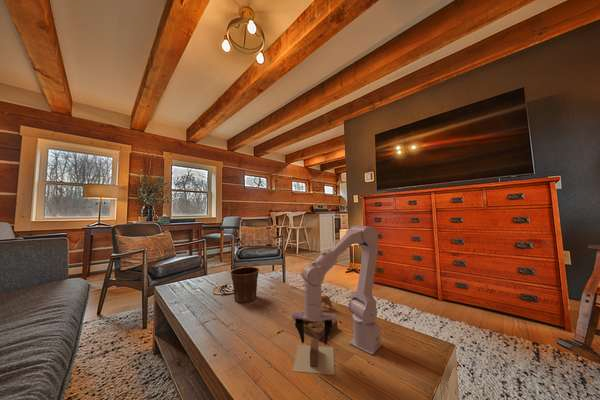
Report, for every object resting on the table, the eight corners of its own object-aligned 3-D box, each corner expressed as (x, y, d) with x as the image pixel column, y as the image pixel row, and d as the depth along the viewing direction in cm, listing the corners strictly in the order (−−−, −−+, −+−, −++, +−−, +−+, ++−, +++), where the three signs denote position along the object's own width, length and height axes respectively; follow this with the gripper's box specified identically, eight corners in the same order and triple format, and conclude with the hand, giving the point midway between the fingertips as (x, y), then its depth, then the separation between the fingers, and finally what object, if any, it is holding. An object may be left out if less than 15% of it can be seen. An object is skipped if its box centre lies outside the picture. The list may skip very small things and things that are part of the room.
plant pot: (224, 303, 117) (224, 273, 118) (240, 292, 133) (240, 266, 134) (250, 306, 113) (250, 275, 114) (264, 294, 128) (263, 267, 129)
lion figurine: (308, 314, 103) (308, 295, 103) (304, 309, 108) (304, 291, 108) (335, 309, 108) (334, 291, 108) (330, 304, 113) (329, 287, 113)
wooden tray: (337, 328, 90) (337, 321, 90) (319, 341, 82) (319, 333, 82) (315, 318, 99) (315, 312, 99) (297, 329, 90) (297, 322, 90)
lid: (333, 349, 78) (332, 335, 78) (334, 377, 65) (334, 360, 65) (298, 347, 79) (297, 333, 80) (292, 373, 66) (292, 357, 67)
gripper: (334, 297, 76) (335, 336, 75) (294, 296, 78) (294, 334, 77) (334, 306, 69) (336, 349, 68) (290, 304, 71) (291, 346, 70)
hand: (314, 342), depth 72 cm, fingers open, 7 cm apart
